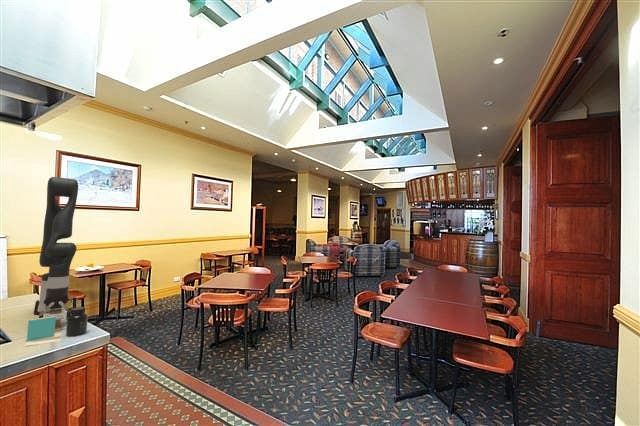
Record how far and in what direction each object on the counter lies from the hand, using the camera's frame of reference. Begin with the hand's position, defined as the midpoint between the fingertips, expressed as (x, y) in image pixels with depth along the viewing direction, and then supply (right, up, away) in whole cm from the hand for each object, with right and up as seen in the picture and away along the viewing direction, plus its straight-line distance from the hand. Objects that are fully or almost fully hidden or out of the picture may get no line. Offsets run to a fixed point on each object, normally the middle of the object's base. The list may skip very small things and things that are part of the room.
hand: (54, 321), depth 128 cm
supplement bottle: (+16, -4, -7) cm, 18 cm away
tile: (+6, -2, -13) cm, 15 cm away
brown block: (+2, -2, -2) cm, 4 cm away
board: (+3, -3, -8) cm, 9 cm away
